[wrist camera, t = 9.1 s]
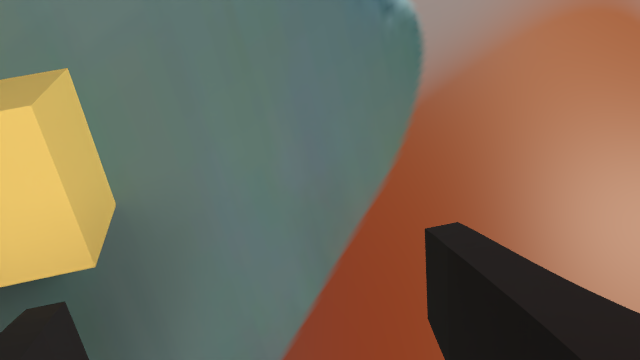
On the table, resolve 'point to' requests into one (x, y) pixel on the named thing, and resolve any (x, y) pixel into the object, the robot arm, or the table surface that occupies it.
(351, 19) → the table surface
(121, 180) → the table surface
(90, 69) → the table surface
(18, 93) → the chock
